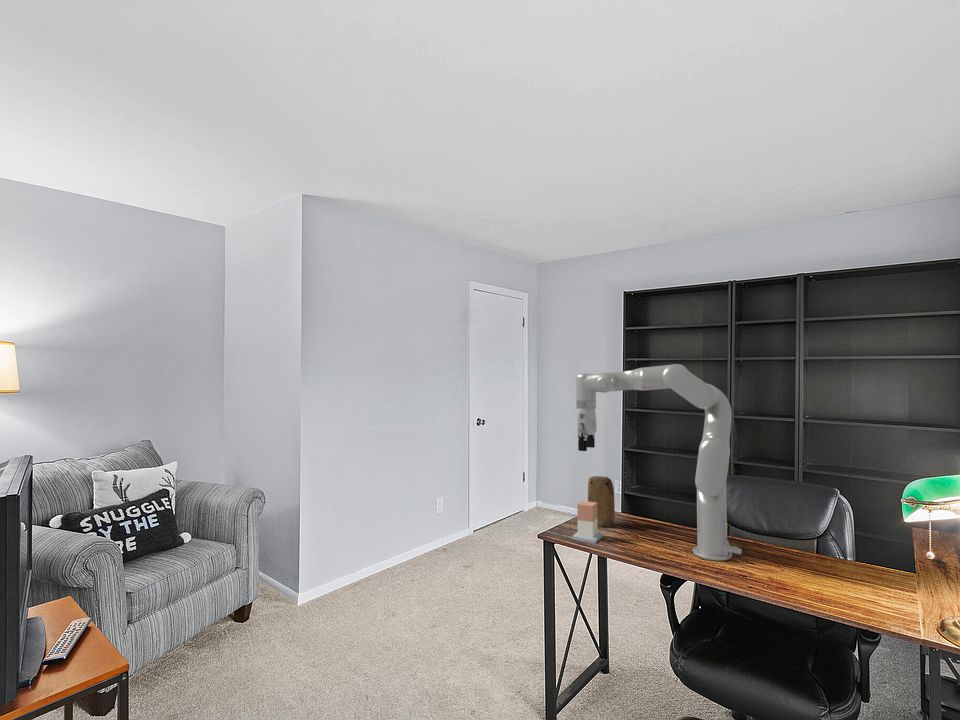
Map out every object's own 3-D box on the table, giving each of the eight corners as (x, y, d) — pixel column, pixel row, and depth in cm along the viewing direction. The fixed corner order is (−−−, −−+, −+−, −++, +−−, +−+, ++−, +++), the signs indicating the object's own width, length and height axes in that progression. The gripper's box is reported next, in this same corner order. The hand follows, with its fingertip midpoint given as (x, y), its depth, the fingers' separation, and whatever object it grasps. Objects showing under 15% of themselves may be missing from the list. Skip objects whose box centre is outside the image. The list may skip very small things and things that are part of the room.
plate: (602, 536, 202) (602, 533, 202) (595, 543, 194) (595, 539, 194) (580, 532, 206) (580, 529, 206) (572, 539, 198) (572, 536, 198)
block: (586, 525, 216) (586, 477, 216) (591, 520, 222) (590, 474, 223) (612, 529, 211) (612, 479, 211) (616, 524, 217) (616, 476, 218)
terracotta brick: (597, 518, 201) (597, 502, 201) (592, 522, 196) (592, 506, 196) (582, 516, 204) (582, 500, 204) (577, 519, 199) (577, 504, 199)
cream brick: (597, 533, 201) (597, 518, 201) (592, 537, 196) (592, 522, 196) (582, 531, 204) (582, 515, 204) (577, 535, 199) (577, 519, 199)
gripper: (588, 406, 192) (589, 453, 191) (602, 404, 207) (602, 446, 206) (569, 406, 195) (569, 451, 195) (583, 403, 210) (584, 445, 210)
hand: (586, 449), depth 201 cm, fingers open, 9 cm apart
